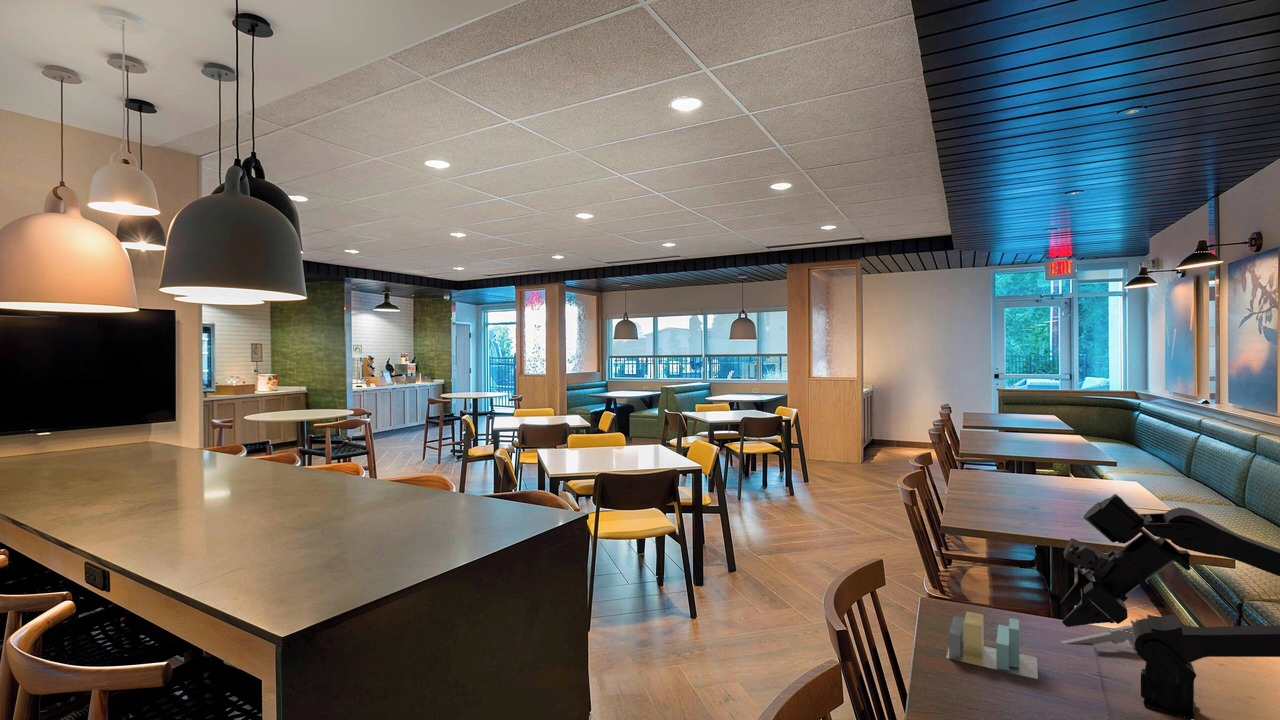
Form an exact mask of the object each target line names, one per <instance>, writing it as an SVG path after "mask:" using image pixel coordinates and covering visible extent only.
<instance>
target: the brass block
mask: <svg viewBox="0 0 1280 720" xmlns="http://www.w3.org/2000/svg"><path fill="white" fill-rule="evenodd" d="M984 629H985V628H984V614H982V613H977V612H971V611H965V616H964V658H965V659H969V660H974V661H978V662H982V658H983V651H984V646H985V644H984V641H985V640H984V636H985V635H984V633H985V632H984Z"/></svg>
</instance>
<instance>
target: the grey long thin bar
mask: <svg viewBox="0 0 1280 720" xmlns="http://www.w3.org/2000/svg"><path fill="white" fill-rule="evenodd" d="M1138 620H1140V619H1139V618H1135V621H1134V620H1132V619H1130V623H1131V625H1130V624H1129V625H1128V624H1127V625H1122V626H1119V627H1114V628H1108V630H1107V631H1104V632H1099V633H1096V634H1090V635H1086V636H1084V635H1083V636H1080V637H1076V638H1070V639H1066V640H1060V643H1061V644H1064V645H1065V644H1067V645H1069V644H1073V645H1074V644H1075V645H1076V644H1092V645H1098V644H1103V643H1108V642H1111V643H1112V644H1114V645H1117V644H1119V643H1121V644H1122V643H1124V642H1126V641H1127V640H1128V642H1129V644H1130V646H1131V648H1132V649H1134V650H1135V646H1134V642H1133V637H1132V633H1130V632H1132V631H1131V630H1132V627H1133V625H1134V624H1135V623H1136V622H1137V621H1138ZM1113 629H1117V630H1113ZM1120 630H1123V631H1120ZM1125 631H1128V632H1125Z"/></svg>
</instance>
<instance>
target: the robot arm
mask: <svg viewBox="0 0 1280 720" xmlns="http://www.w3.org/2000/svg"><path fill="white" fill-rule="evenodd" d="M1083 519H1084V520H1085V521H1086V522H1088V524H1090V525H1091V526H1092V527H1093V528H1095V529H1096V530H1097V531H1098V532H1099V533H1100V534H1101V535H1103V536H1104V537H1105V538H1106V539H1107V540H1108V541H1110V542H1111V543H1119V544H1122V545H1123V544H1126V543H1128V544H1126V545H1124V546H1123V547H1122V548H1121V549H1119V550H1118V551H1117V550H1115V549H1110V550H1109V551H1107V552H1106V553H1104V552H1102V551H1101V550H1099V549H1097V548H1095V547H1093V546H1091V545H1088V544H1086V543H1084V542H1082V541H1080V540H1079V539H1078V540H1077V539H1075V538H1072V537H1071V538H1070V539H1069V541H1068V543H1067V544H1066V546H1065V548H1064V550H1063V552H1062V553H1063V558H1064V559H1065V560H1066V561H1068V562H1069V563H1072V564H1075V565H1078V566H1076V576H1077V578H1076V581H1075V583H1074V584H1073V585H1072V586H1071V588H1070V589H1069V591H1068V592H1067V593H1066V594H1065V596H1064V597H1063V598H1062V600H1061V601H1060V606H1062V607H1063V608H1064V609H1067V608H1071V607H1073V608H1072V610H1071V611H1070V612H1069V613H1068V614H1067V615H1066V616H1065V617H1064V618H1063V620H1062V621H1061V623H1062V624H1063V625H1064V626H1065V627H1066V628H1071V627H1079V626H1086V625H1087V626H1088V625H1095V624H1104V623H1107V624H1108V623H1109V624H1114V623H1116V624H1117V625H1119V624H1121V623H1122V622H1124V621H1125V620H1127V619H1128V617H1129V616H1128V609H1127V605H1126V603H1125V601H1127V600H1128V599H1129V597H1128V594H1130V593H1132V592H1133V591H1134V590H1135V589H1137V588H1139V587H1140V586H1141V587H1143V588H1146V587H1147V586H1149V584H1150V583H1149V582H1148V580H1150V579H1151V578H1152V577H1154V576H1156V575H1157V574H1158V573H1160V572H1161V571H1163V570H1164V569H1165V568H1167V567H1169V566H1170V565H1171V564H1172V563H1174V562H1175V563H1177V564H1178V565H1179V566H1181V567H1182V569H1184V570H1186V571H1190V570H1191V565H1190V558H1191V553H1190V552H1189V551H1193V552H1196V553H1200V554H1204V555H1208V556H1217V557H1223V558H1227V559H1232V560H1235V561H1238V562H1240V563H1243V564H1245V565H1248V566H1251V567H1252V568H1256V569H1259V570H1262V571H1264V572H1267V573H1270V574H1272V575H1276V576H1278V577H1280V548H1278V547H1274V546H1271V545H1269V544H1266V543H1264V542H1261V541H1258V540H1255V539H1253V538H1250V537H1247V536H1244V535H1241V534H1238V533H1237V532H1234V531H1232V530H1230V529H1229V528H1227V527H1225V526H1224V525H1222V524H1219V523H1218V522H1216V521H1215V520H1213V519H1211V518H1209V517H1206V516H1205V515H1203V514H1201V513H1199V512H1197V511H1195V510H1194V509H1190V508H1188V507H1187V508H1186V507H1175V508H1171V509H1170V510H1168V511H1166V512H1163V513H1161V512H1160V513H1159V512H1157V513H1155V512H1154V513H1139V512H1137V511H1136V510H1135V509H1133V508H1132V507H1131V506H1130V505H1128V504H1127V503H1126V502H1125V500H1124V499H1123V498H1122V497H1121V496H1119V495H1118V494H1116V493H1114V494H1112V495H1111V496H1110V497H1107V498H1105V499H1104V500H1101V501H1100V502H1099V501H1097V502H1096V503H1095V504H1094V505H1093V506H1091V507H1090V508H1089V509H1088V510H1087V511H1086V512H1085V514H1084V515H1083ZM1139 534H1140V535H1139ZM1168 540H1169V541H1168ZM1174 545H1175V546H1177V547H1179V548H1181V549H1178V548H1177V547H1175V546H1174ZM1183 549H1184V550H1183ZM1146 617H1147V618H1141V619H1139V620H1138V621H1137V622H1136V623H1135V624H1134V625H1133V627H1132V630H1131V631H1132V637H1133V642H1134V646H1135V649H1134V650H1135V651H1136V654H1137V655H1138V656H1139V657H1140V658H1141V660H1143V661H1144V662H1145V666H1144V668H1142V669H1141V672H1140V697H1141V698H1142V699H1143V706H1144V707H1146V708H1149V709H1153V710H1156V711H1158V712H1159V711H1160V712H1162V713H1166V714H1169V715H1173V716H1175V715H1176V717H1179V716H1181V717H1180V718H1182V717H1185V718H1188V719H1187V720H1189V719H1195V718H1196V717H1195V716H1196V702H1195V679H1196V677H1197V674H1196V671H1195V669H1194V668H1195V667H1194V666H1193V664H1192V663H1194V662H1196V661H1198V660H1201V659H1203V658H1205V659H1206V658H1221V657H1222V658H1280V625H1241V626H1240V625H1237V626H1235V625H1234V626H1230V625H1229V626H1228V625H1227V626H1192V625H1188V624H1184V623H1180V621H1179V618H1178V616H1177V614H1167V615H1160V616H1157V615H1156V616H1155V615H1153V614H1147V615H1146ZM1185 718H1184V719H1185ZM1195 720H1196V719H1195Z"/></svg>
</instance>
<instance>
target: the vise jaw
mask: <svg viewBox="0 0 1280 720" xmlns="http://www.w3.org/2000/svg"><path fill="white" fill-rule="evenodd" d="M1008 619H1009V621H1008V622H1009V623H1008V625H1005V624H1004V625H1003V624H998V625H997V633H996V643H995V645H996V647H995V648H996V667H997V668H999V669H1004V670H1008V671H1009V666H1012V667H1016V668H1019V654H1020V619H1016V618H1011V617H1009V618H1008Z"/></svg>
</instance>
